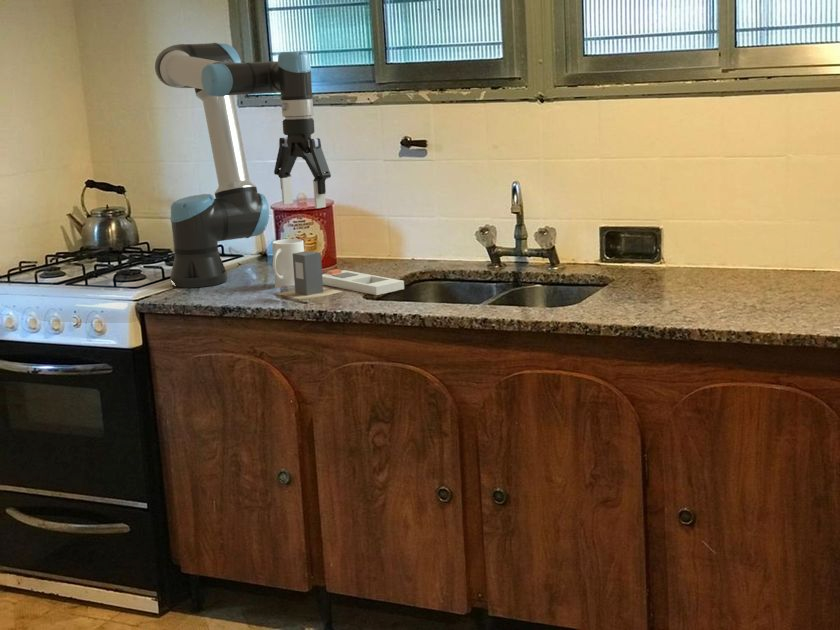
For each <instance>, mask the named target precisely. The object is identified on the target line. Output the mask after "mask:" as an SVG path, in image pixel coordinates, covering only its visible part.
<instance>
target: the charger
mask: <svg viewBox="0 0 840 630" xmlns="http://www.w3.org/2000/svg"><path fill="white" fill-rule="evenodd" d="M322 263H323V262H322V252H319V251H313V250H306V251H305V250H304V252H299V253H293V267H294V281H295V286H294V290H295V293H298V294H302V295H307V296H308V295H312V294H317V293H322V292H323V287H324V284H323V279H322V274H323V267H322V266H323V265H322Z"/></svg>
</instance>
